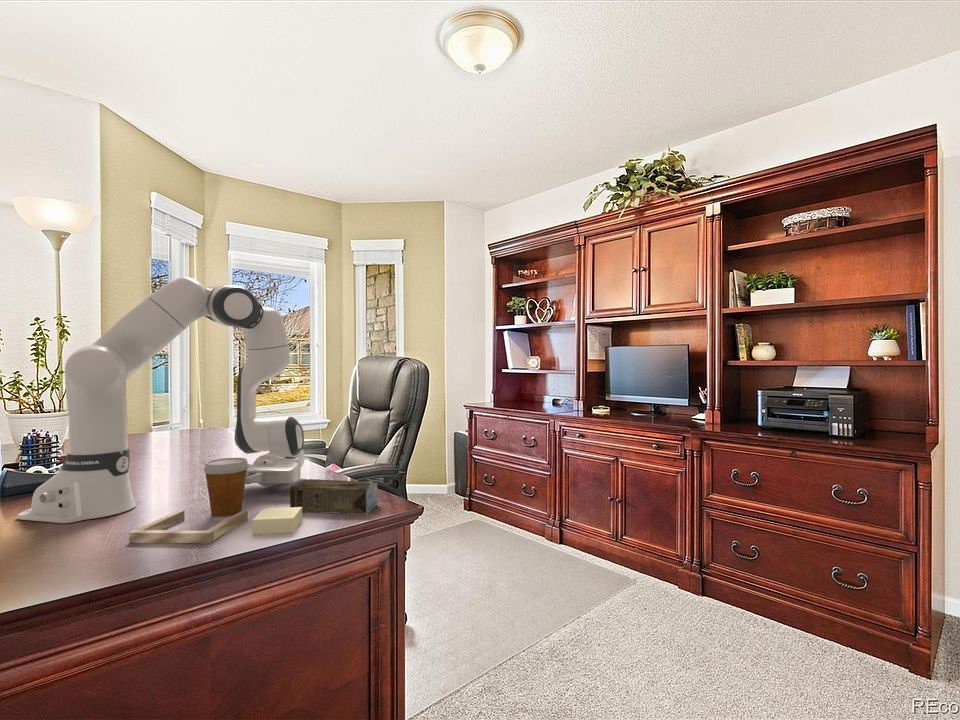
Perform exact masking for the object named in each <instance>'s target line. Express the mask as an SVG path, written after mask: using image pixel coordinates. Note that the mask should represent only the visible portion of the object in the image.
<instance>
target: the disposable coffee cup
mask: <svg viewBox="0 0 960 720" xmlns="http://www.w3.org/2000/svg"><path fill="white" fill-rule="evenodd" d="M204 464H205V465H204V467H203V468H202V469H203V471H204V473H205V478H206V486H207V493H208V499H209V507H210V512H211V513H210V514H212V515H211V516H213V515H214V516H213V517H228V515H229V516H233V515H235V514H237V513H239V512H241V511H243V510H242V509H243V502H244V494H245V486H246V484H245V479H246V472H247V469H248V466H249V465H250V464H249V463H248V459H247V458H245V457H223V458H217V459H216V458H215V459H212V460H211V459H210V460H208V461H206V462H205V463H204Z"/></svg>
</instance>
